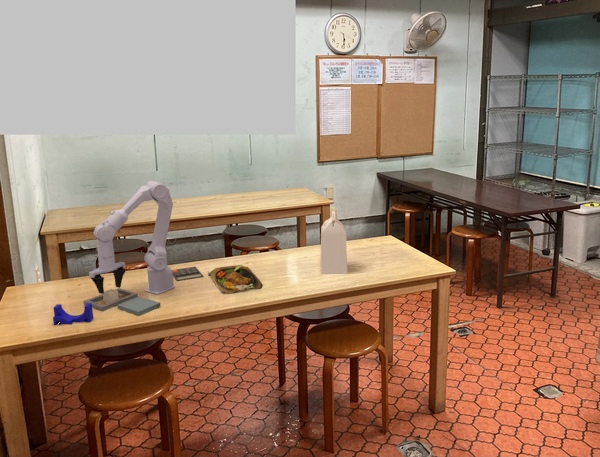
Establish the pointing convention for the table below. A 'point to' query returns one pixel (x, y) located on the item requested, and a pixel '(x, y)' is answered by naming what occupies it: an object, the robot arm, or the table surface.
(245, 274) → the prepared meal
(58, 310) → the cable clip
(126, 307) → the slate pad
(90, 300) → the pocket frame
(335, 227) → the milk
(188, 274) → the calculator
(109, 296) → the cream block
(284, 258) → the table surface
